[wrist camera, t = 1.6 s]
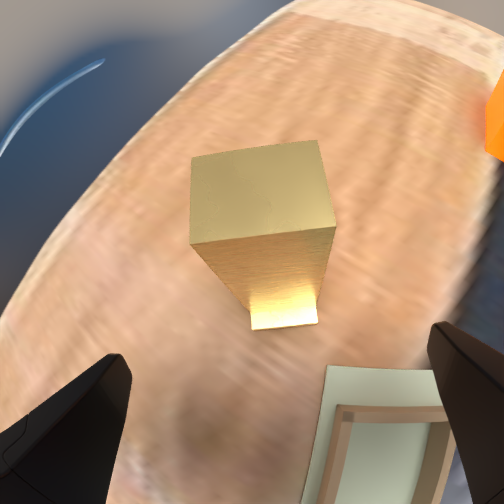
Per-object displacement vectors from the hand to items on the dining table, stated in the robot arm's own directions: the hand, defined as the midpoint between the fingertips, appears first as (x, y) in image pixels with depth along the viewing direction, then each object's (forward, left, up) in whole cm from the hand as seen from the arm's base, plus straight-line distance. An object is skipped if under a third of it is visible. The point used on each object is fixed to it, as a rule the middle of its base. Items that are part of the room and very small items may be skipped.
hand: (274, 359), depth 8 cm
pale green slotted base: (-4, -9, -12) cm, 15 cm away
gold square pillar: (+4, +2, -12) cm, 13 cm away
